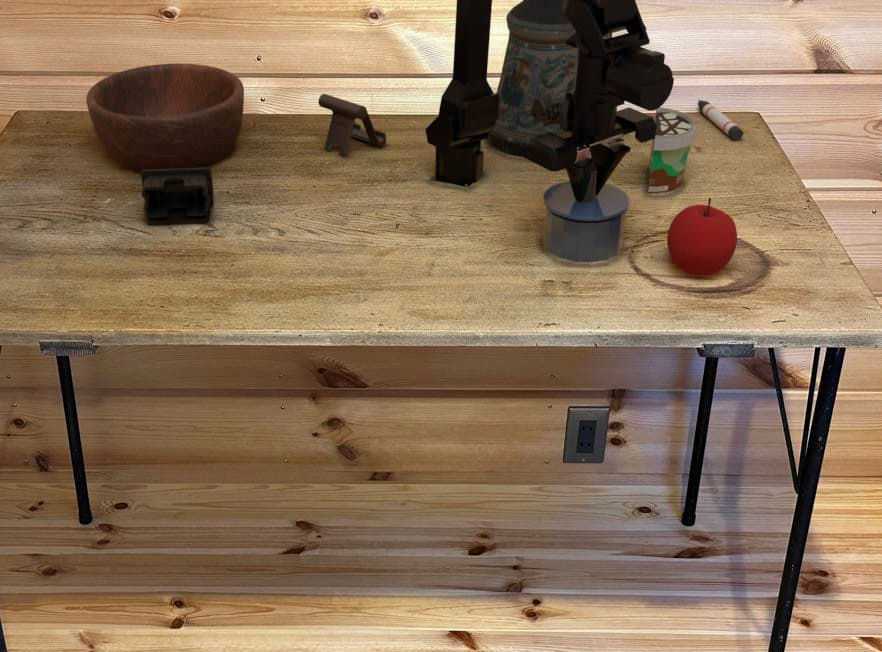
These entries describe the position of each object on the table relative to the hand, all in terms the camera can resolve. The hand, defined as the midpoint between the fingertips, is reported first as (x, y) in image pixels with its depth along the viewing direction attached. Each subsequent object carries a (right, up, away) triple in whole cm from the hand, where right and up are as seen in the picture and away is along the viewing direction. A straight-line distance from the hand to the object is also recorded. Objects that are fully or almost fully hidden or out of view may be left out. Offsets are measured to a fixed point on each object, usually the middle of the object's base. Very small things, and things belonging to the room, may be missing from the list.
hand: (586, 197), depth 161 cm
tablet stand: (-33, +14, +34) cm, 50 cm away
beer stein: (-1, +16, +35) cm, 39 cm away
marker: (+29, +19, +40) cm, 53 cm away
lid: (0, 0, 0) cm, 1 cm away
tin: (0, -6, +4) cm, 8 cm away
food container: (+16, +5, +20) cm, 27 cm away
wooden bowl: (-62, +14, +34) cm, 72 cm away
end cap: (-58, 0, +15) cm, 60 cm away
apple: (+15, -10, -1) cm, 18 cm away
